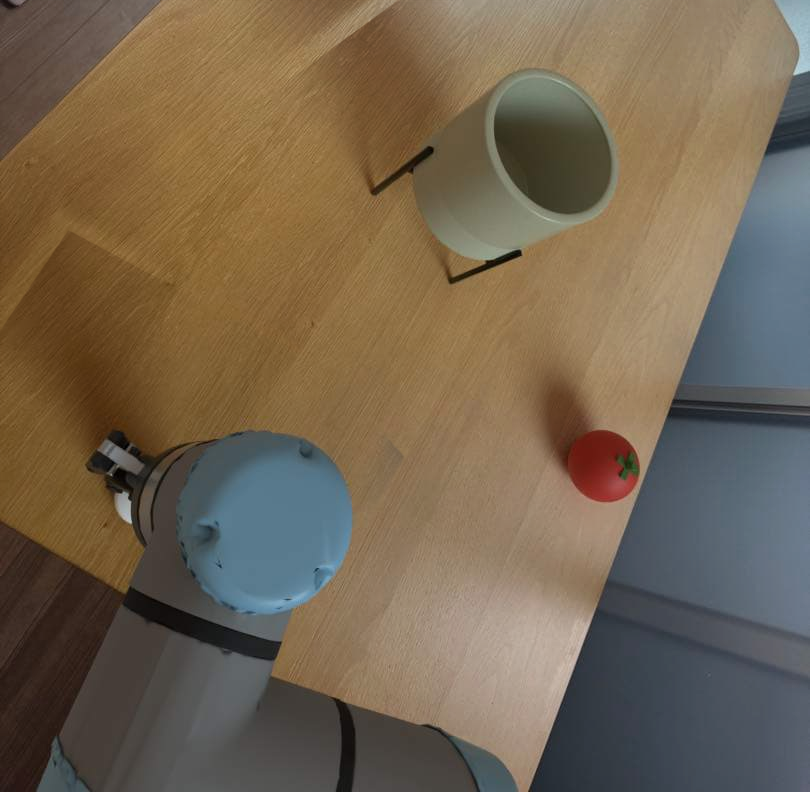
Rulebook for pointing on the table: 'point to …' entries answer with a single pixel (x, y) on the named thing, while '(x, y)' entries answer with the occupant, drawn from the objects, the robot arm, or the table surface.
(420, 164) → the planter
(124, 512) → the chess piece
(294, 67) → the table surface
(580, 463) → the tomato
